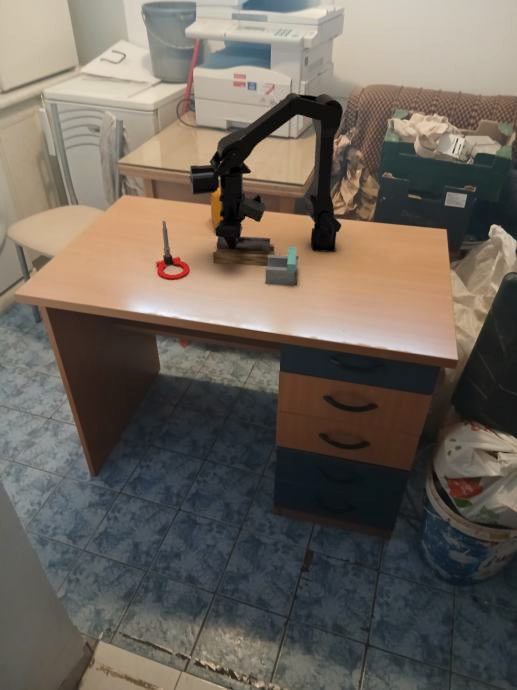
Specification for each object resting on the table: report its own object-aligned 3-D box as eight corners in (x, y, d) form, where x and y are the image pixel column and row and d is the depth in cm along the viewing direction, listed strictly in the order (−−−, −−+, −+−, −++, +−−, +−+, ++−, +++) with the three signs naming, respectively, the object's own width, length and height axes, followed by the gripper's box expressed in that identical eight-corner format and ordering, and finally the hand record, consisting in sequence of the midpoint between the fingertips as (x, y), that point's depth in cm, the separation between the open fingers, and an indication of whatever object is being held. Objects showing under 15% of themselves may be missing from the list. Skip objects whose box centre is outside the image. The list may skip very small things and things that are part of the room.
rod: (270, 246, 141) (270, 235, 138) (269, 254, 138) (269, 242, 135) (219, 244, 141) (219, 233, 139) (218, 251, 139) (217, 240, 136)
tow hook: (194, 277, 134) (182, 259, 140) (191, 233, 125) (178, 216, 131) (163, 284, 131) (152, 266, 137) (158, 240, 122) (146, 223, 129)
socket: (297, 270, 136) (298, 256, 133) (296, 285, 130) (297, 271, 128) (267, 268, 137) (268, 254, 134) (265, 283, 131) (265, 269, 128)
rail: (273, 252, 143) (274, 243, 142) (271, 266, 138) (272, 257, 136) (217, 249, 145) (217, 240, 143) (213, 262, 139) (212, 254, 137)
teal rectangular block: (296, 253, 134) (296, 247, 133) (294, 271, 127) (295, 264, 126) (288, 253, 134) (288, 246, 133) (286, 271, 127) (287, 264, 126)
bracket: (239, 232, 153) (239, 194, 145) (215, 234, 152) (214, 195, 144) (234, 216, 161) (233, 179, 153) (211, 218, 160) (209, 181, 152)
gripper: (259, 207, 121) (259, 264, 131) (266, 177, 136) (265, 231, 146) (213, 205, 122) (216, 262, 132) (225, 176, 137) (226, 229, 146)
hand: (233, 245), depth 139 cm, fingers closed on rod, 4 cm apart
